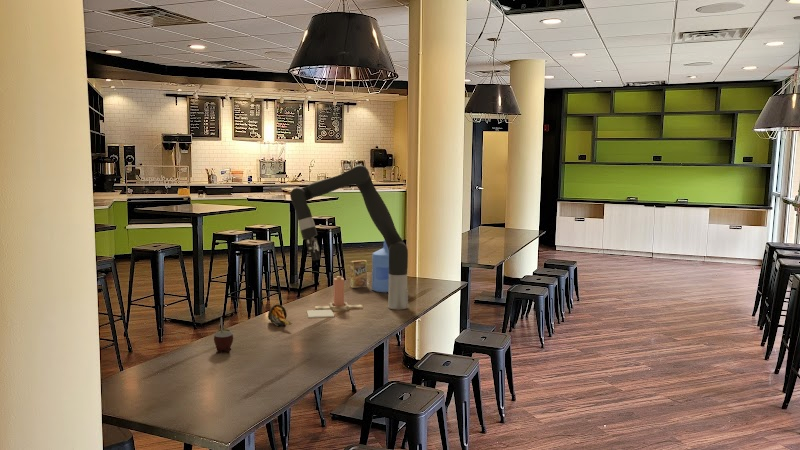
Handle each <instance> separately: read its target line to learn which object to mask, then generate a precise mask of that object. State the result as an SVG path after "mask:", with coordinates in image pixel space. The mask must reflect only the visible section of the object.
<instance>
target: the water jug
mask: <svg viewBox="0 0 800 450" xmlns="http://www.w3.org/2000/svg"><path fill="white" fill-rule="evenodd" d="M371 256H372V257H371V262H372V264H371V265H372V267H371V268H372V270H371V276H372V279H371V280H372V281H371V290H372V291H374V292H378V293H384V294H385V293H387V292H388V291H389V250H388V247H387V244H386V242H385V240H383V247H382V248H380V249H378V250H376V251H374V252H372V255H371Z"/></svg>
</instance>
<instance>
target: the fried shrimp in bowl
mask: <svg viewBox="0 0 800 450" xmlns="http://www.w3.org/2000/svg"><path fill="white" fill-rule="evenodd" d="M267 316H268V317H267V318H268V320H269V321H270V322H271V323H272V324H274V325H275V326H277V327H279V326H282V327H283V326H286V325H288V326H291V325H292V323H293V322H291V321H289V320H287V316H288V314H287V310H286V308H285V307H284V306H283V305H281V304H274V305H273V306H272V307H271V308H270V309H269V311H268V313H267Z"/></svg>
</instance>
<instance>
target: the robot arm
mask: <svg viewBox="0 0 800 450" xmlns="http://www.w3.org/2000/svg"><path fill="white" fill-rule="evenodd" d="M371 177H372V176H371V174H370V171H369V169H368V168H367V167H366V166H364V165H363V164H362V165H361V164H358V165H355V166H353V167H352V168H351V169H349V170H347V171H345V172H343V173H340V174H338V175H335V176H332V177H328V178H324V179H321V180H318V181H314V182H312V183H310V184H309V185H306V186H303V187H301V188H300V187H295V188H293V189H291V191H290V195H289V197H290V201H291V203H292V205H293V208H294V211H295V214H296V218H297V221H298V227H299V231H300V234H301V237H302V239H303V240H305V245H306V248H307V252H308V253H309V254H310V257H311V261H312V262H314V261H319V260H320V259H322V258H321V254H320V246H319V242H318V239H317V238H315V237H317V236H318V235H319V234H318V231H317V228H316V224H315V220H314V219H313V216H312V212H311V208H310V207H309V206H308V205H309V204H308V203H307V201H310V200H312V199H314V198H317V197H320V196H324V195H326V194H329V193H331V192H334V191H336V190H339V189H342V188H344V187H345V188H346V187H348V186H355V185H356V187H357V188H358V190H359V192H360V194H361V196H362V199H363V201H364V205H365V207H366V210H367V212H368V215H369V216H370V219H371V221H372V223H373V224H374V225H375V227H376V229H377V230H378V231H379V232H380V234H381V235H382V237H383V239H384V241H385V242H386V244H387V247H388V250H389V291H388V299H387V300H388V302H387V303H388V304H387V305H388V309H390V310H400V311H401V310H405V309H409V290H408V267H409V266H408V265H409V264H408V263H409V259H408V258H409V255H408V253H409V251H408V250H409V249H408V247H407V244H406V243H405V242H404V241H403V239H402V238H401V236H400V234H399V233H398V231H397V229H396V225H395V223H394V220H393V217H392V216H391V213H390V211H389V209H388V206H387V205H386V203H385V201H384V200H383V198H382V197H381V195H380V194H379V192H378V190H377V189H376V187H375V185H374V182H373V179H372V178H371Z"/></svg>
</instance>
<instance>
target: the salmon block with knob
mask: <svg viewBox="0 0 800 450" xmlns="http://www.w3.org/2000/svg"><path fill="white" fill-rule="evenodd" d="M344 302H345V279H344V277H342V276H341V275H337V276H336V277H334V278H333V303H334V306H344Z"/></svg>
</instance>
